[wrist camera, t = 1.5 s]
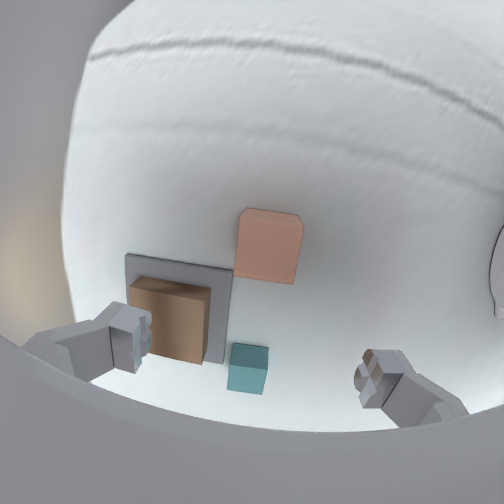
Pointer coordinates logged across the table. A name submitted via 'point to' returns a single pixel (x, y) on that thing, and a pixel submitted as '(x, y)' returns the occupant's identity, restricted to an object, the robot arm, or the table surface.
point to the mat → (194, 276)
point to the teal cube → (248, 369)
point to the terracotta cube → (268, 246)
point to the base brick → (174, 317)
